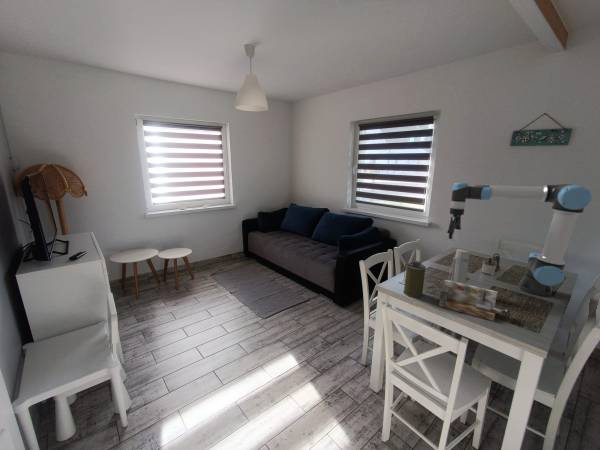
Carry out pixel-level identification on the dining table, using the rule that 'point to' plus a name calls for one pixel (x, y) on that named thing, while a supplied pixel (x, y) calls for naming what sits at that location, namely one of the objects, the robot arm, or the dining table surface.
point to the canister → (414, 279)
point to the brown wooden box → (466, 299)
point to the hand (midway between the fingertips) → (452, 241)
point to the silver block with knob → (489, 306)
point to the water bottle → (460, 266)
